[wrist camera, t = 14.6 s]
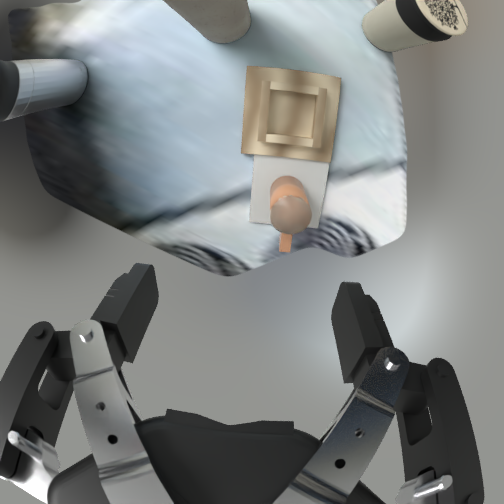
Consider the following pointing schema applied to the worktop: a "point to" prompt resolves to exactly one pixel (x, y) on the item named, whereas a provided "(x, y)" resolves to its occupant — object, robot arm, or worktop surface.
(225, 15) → the thermos bottle
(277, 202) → the tabbed peach cylinder
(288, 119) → the dock
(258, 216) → the mat
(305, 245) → the worktop surface
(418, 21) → the travel mug
